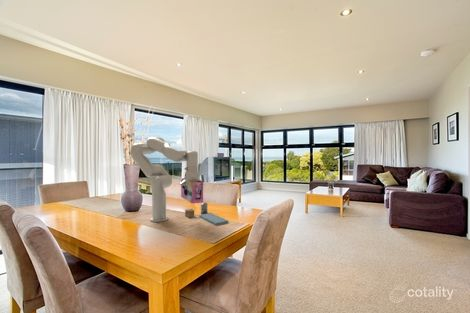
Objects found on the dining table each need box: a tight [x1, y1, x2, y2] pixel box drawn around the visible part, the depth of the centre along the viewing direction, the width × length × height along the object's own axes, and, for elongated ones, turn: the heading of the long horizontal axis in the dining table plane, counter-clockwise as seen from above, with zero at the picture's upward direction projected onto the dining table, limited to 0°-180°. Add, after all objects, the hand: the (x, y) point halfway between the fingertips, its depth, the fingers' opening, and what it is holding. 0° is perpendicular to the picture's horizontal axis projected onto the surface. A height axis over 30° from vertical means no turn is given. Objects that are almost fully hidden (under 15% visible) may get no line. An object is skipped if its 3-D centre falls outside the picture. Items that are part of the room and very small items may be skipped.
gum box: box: [180, 178, 204, 204], centre depth 157 cm, size 24×8×14 cm, turn 32°
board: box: [198, 212, 229, 226], centre depth 165 cm, size 24×10×2 cm, turn 36°
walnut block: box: [184, 208, 195, 219], centre depth 174 cm, size 5×5×5 cm
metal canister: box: [200, 202, 208, 215], centre depth 182 cm, size 5×5×8 cm
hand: (191, 194), depth 158 cm, fingers closed on gum box, 8 cm apart
